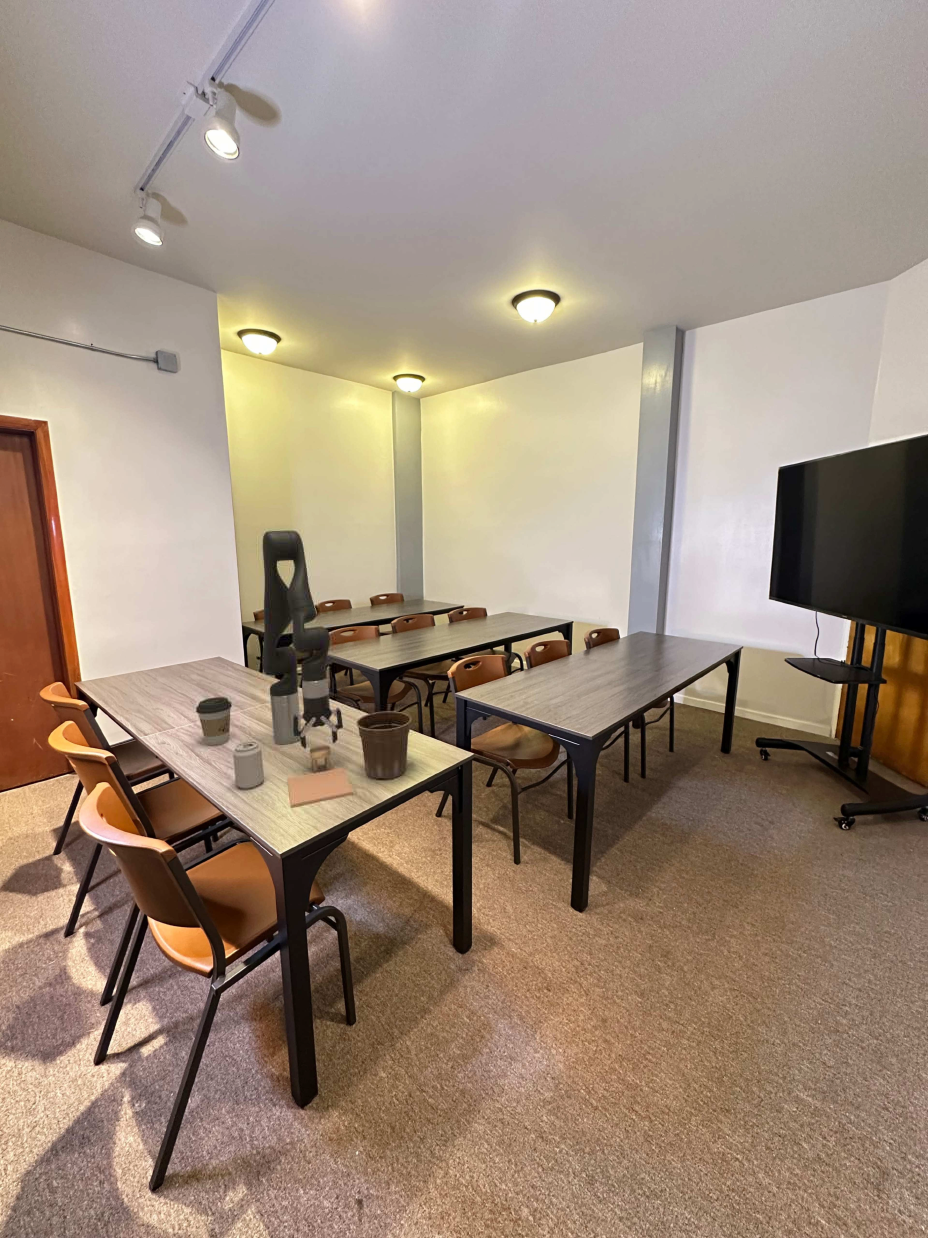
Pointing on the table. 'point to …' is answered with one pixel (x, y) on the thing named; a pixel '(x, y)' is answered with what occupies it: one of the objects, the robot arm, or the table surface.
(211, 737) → the coffee cup
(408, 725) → the plant pot
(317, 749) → the stool
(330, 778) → the mat
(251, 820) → the table surface
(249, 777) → the can
